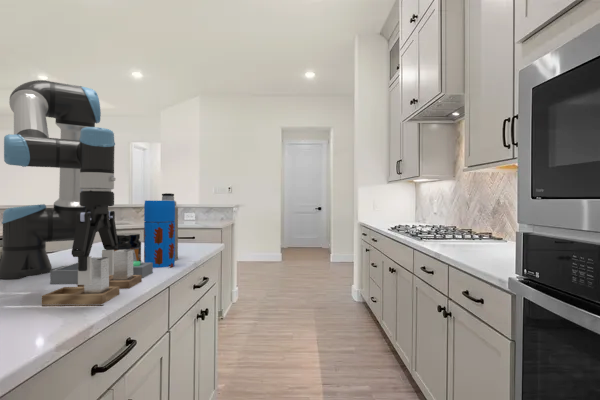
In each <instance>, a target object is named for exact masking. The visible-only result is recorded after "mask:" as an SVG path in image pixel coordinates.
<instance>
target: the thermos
mask: <svg viewBox="0 0 600 400" xmlns="http://www.w3.org/2000/svg"><path fill="white" fill-rule="evenodd" d="M175 201H176V200H175ZM175 201H161V200H144V205H143V206H144V207H143V210H144V211H143V217H144V218H143V221H144V222H143V230H144V231H143V236H144V237H143V238H144V239H143V246H144V247H143V261H144V262H143V263H153V268H154V269H156V268H157V269H158V268H159V269H160V268H168V269H171V268H174V267H175V261H176V260H175Z"/></svg>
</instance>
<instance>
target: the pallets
mask: <svg viewBox="0 0 600 400" xmlns="http://www.w3.org/2000/svg"><path fill="white" fill-rule="evenodd" d="M142 279H143V278H142V275H133V278H132V279H130V280H113V275H109V291H107V292H105V293H103V294H84V285H78V282H77V284H76V285H77V286H63V287H61V288H58V289H56V290H53V291H51V292H48V293H45V294H43V295H41V307H103V306H104V304H106V303H107V302H109V301H110V300H112V299H113V298H116V297H117V296H119V295H120V290H121V289H122V290H123V289H125V290H127V289H131V288H132V287H134V286H136V285H138V284H140V283H142V281H143V280H142Z"/></svg>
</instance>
